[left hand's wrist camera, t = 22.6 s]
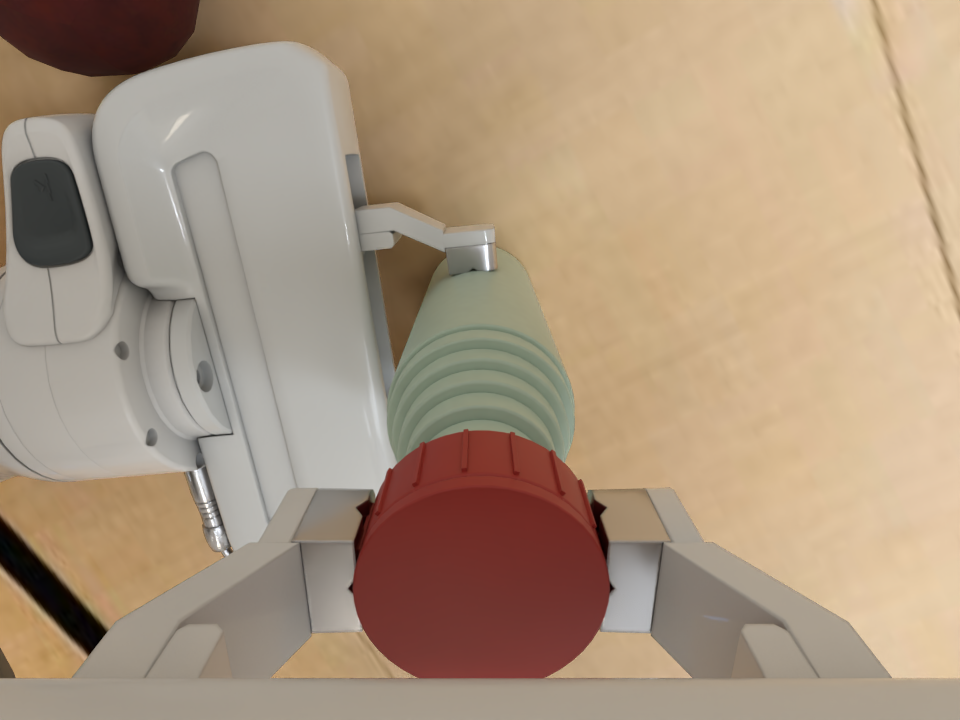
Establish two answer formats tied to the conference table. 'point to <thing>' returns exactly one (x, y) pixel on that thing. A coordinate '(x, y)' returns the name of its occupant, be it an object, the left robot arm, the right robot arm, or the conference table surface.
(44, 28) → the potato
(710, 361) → the conference table surface
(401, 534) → the cap
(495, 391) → the bottle
